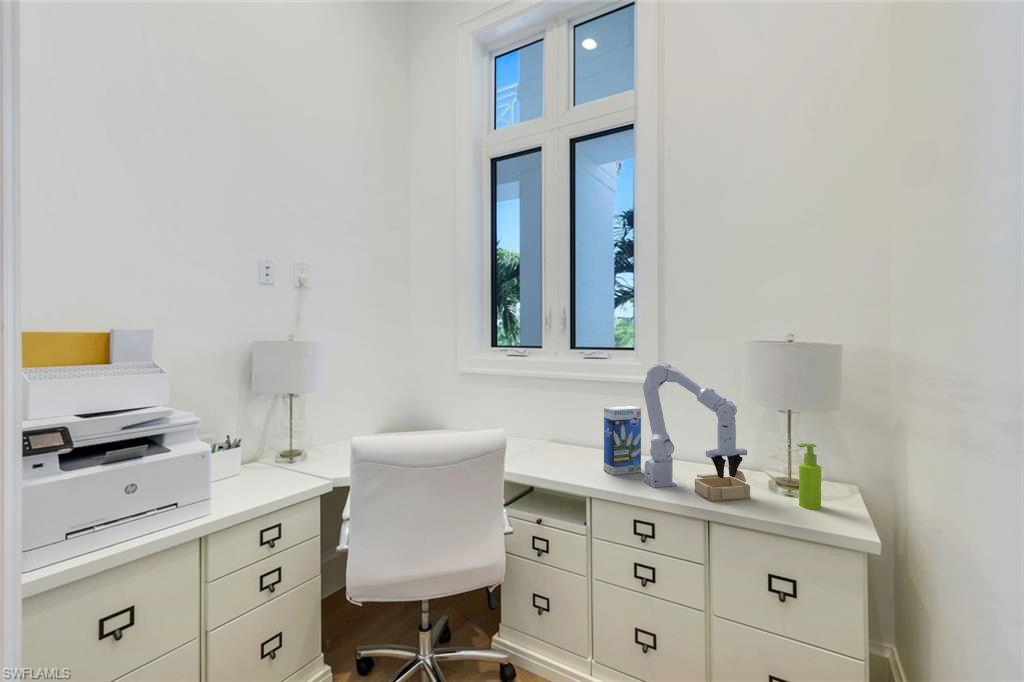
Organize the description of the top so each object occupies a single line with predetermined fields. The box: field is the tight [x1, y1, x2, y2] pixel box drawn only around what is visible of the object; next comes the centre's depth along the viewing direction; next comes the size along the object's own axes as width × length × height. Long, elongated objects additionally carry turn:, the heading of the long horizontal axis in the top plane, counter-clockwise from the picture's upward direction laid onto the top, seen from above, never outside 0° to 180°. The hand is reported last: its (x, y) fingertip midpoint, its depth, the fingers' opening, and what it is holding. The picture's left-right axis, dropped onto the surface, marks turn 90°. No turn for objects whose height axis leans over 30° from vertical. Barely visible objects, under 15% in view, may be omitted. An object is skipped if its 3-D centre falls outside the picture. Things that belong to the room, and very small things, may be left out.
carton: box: [694, 476, 751, 503], centre depth 156 cm, size 15×11×5 cm
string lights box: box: [603, 405, 642, 476], centre depth 185 cm, size 13×8×26 cm, turn 109°
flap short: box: [727, 466, 747, 483], centre depth 158 cm, size 1×7×4 cm, turn 10°
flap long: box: [696, 472, 718, 479], centre depth 164 cm, size 8×1×4 cm
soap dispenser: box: [796, 442, 822, 511], centre depth 147 cm, size 6×7×20 cm
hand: (726, 477), depth 157 cm, fingers open, 4 cm apart
